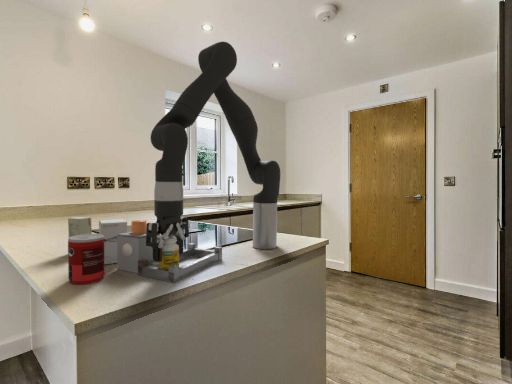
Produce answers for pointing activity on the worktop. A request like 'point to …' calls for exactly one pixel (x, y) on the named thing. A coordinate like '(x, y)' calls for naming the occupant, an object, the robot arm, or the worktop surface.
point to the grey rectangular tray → (174, 270)
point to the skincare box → (79, 226)
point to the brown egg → (138, 227)
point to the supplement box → (111, 237)
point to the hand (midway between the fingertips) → (169, 257)
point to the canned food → (86, 258)
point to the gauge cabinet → (132, 251)
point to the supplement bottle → (169, 253)
